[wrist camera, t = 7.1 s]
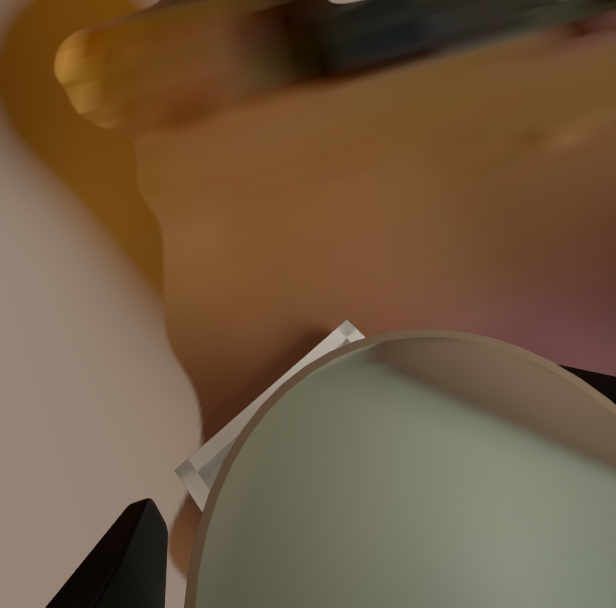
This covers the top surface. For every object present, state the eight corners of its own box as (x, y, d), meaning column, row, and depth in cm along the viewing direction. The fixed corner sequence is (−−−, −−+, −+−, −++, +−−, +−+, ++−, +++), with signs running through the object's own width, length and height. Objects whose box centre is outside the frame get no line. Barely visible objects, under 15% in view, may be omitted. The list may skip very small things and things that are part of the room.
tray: (359, 713, 12) (367, 764, 10) (193, 469, 15) (174, 470, 13) (516, 509, 14) (549, 516, 12) (343, 336, 17) (346, 319, 15)
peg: (376, 600, 13) (745, 1493, 2) (264, 512, 14) (59, 696, 3) (435, 471, 14) (816, 499, 3) (330, 402, 16) (358, 260, 5)
